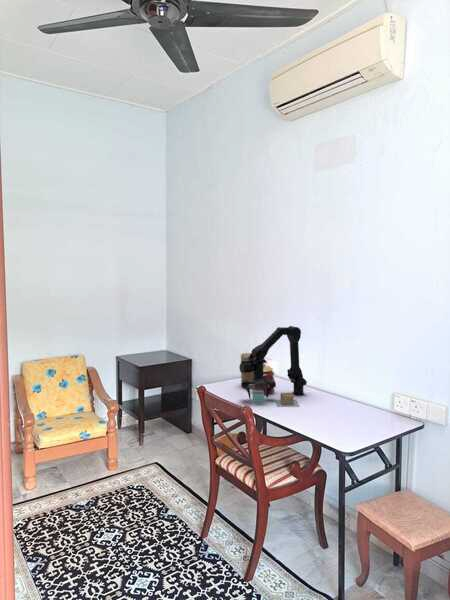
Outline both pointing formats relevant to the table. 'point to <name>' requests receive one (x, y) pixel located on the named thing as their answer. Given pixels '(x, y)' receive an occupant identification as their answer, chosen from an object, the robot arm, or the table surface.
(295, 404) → the mat
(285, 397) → the walnut block
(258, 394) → the teal block
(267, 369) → the canister
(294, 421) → the table surface
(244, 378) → the wooden block
